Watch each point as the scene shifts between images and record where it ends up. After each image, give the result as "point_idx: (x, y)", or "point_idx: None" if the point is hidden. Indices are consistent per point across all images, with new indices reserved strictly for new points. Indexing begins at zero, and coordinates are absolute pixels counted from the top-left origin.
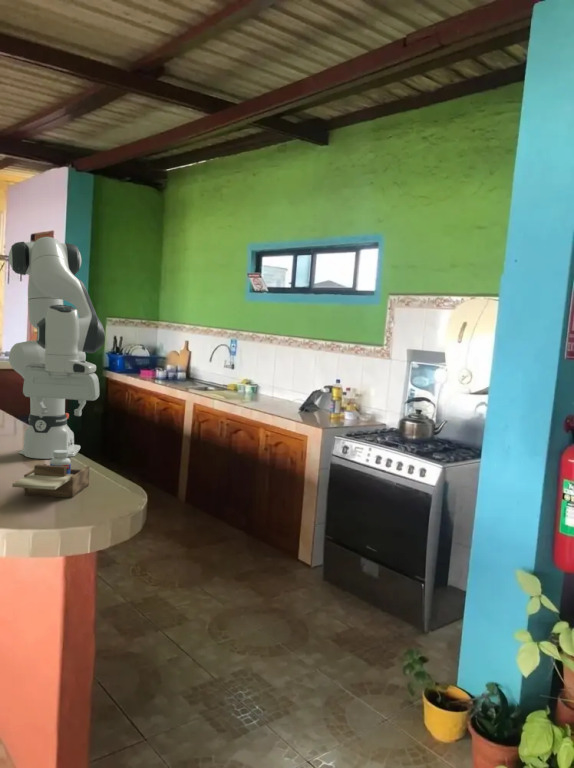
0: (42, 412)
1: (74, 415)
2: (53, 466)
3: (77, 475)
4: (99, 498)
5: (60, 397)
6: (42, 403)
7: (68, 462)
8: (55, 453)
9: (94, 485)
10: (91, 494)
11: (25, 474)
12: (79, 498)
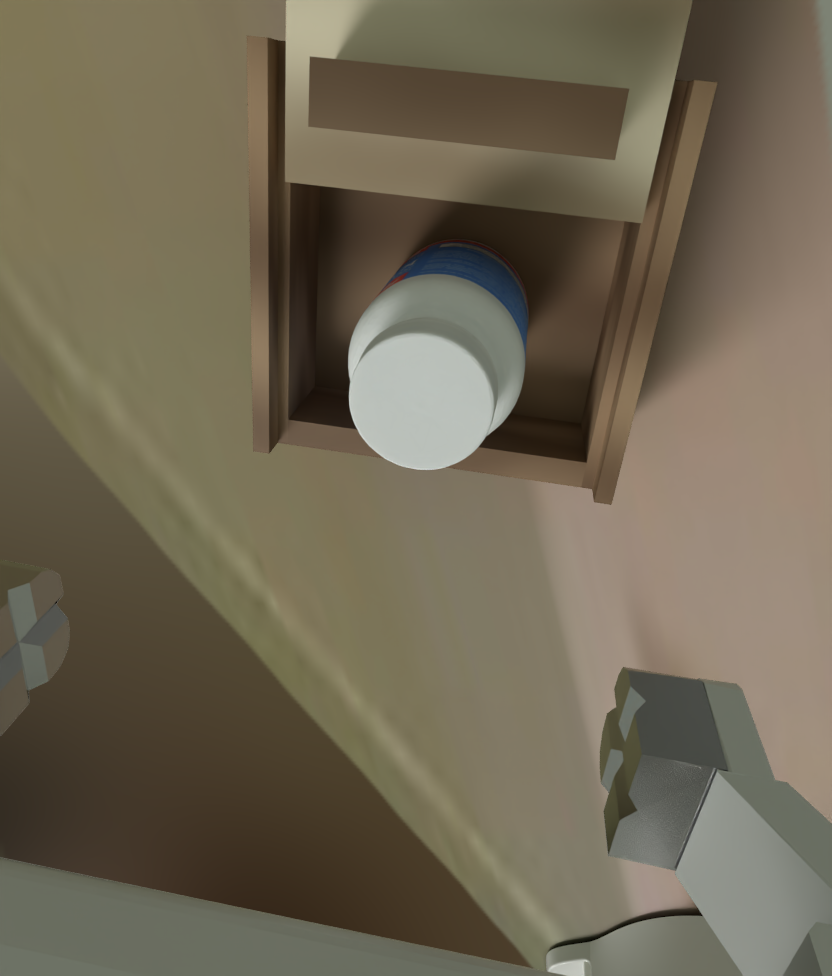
0: (691, 686)
1: (50, 569)
2: (428, 94)
3: (252, 167)
4: (114, 57)
5: (98, 910)
6: (753, 939)
7: (354, 332)
8: (459, 340)
9: None
10: (205, 166)
11: (707, 94)
12: None
